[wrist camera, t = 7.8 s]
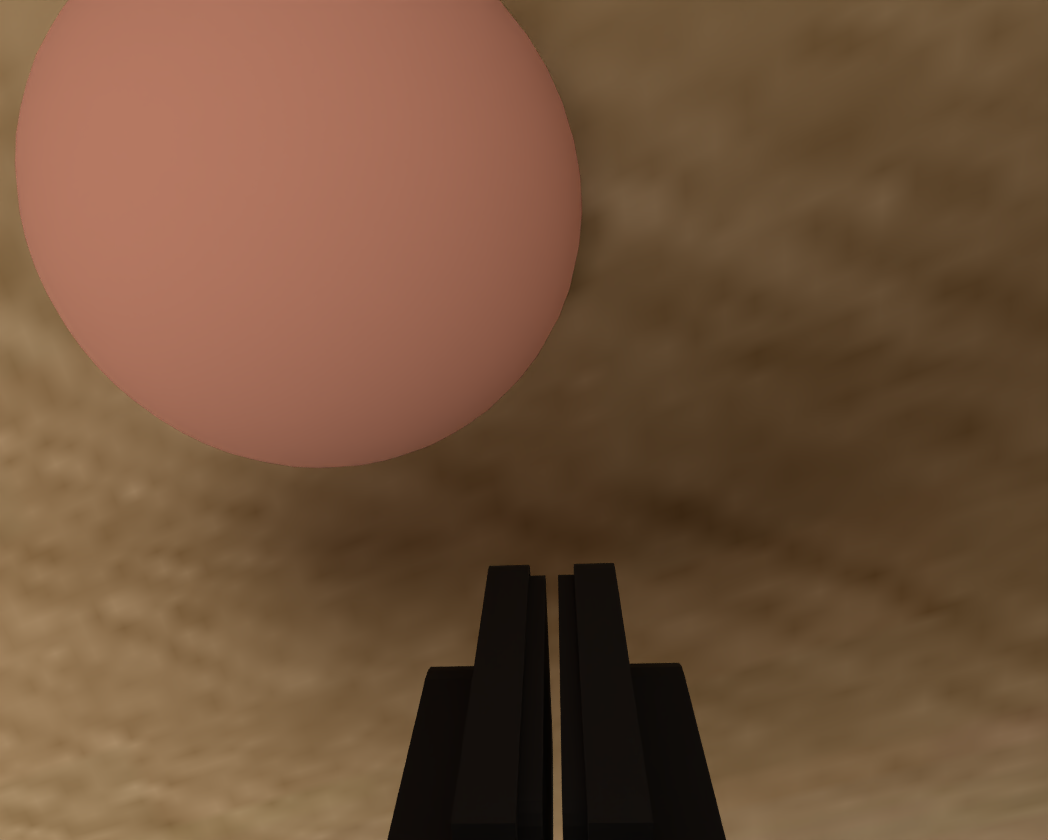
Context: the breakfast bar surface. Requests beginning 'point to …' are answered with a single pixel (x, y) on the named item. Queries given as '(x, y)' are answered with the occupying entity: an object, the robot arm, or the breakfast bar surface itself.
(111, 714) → the breakfast bar surface
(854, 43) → the breakfast bar surface
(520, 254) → the pink smooth round ball
